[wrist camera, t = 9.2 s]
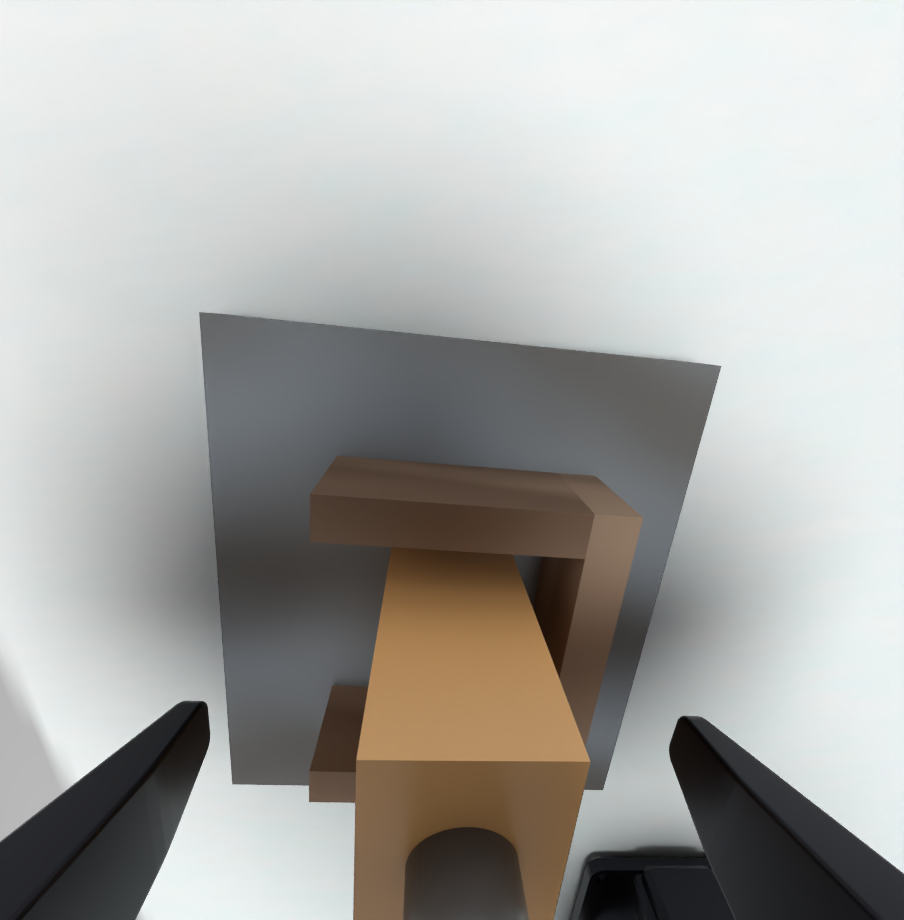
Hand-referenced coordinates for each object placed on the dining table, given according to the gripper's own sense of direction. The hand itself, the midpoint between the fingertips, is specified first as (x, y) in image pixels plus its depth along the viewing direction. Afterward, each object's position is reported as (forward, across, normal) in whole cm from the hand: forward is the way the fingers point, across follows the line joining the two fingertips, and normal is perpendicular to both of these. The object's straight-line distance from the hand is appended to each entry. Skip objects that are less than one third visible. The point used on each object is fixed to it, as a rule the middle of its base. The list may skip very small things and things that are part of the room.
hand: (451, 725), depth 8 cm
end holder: (+5, 0, 0) cm, 5 cm away
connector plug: (+4, 0, 0) cm, 4 cm away
